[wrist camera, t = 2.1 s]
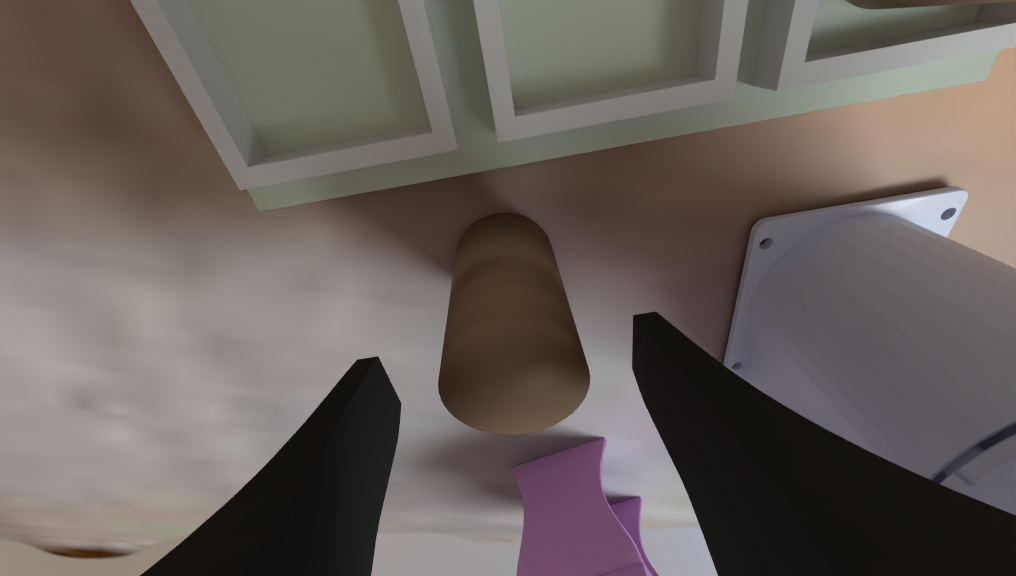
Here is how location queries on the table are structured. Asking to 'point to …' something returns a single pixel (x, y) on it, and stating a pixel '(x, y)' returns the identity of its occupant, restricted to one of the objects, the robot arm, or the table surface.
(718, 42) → the pin board
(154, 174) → the table surface
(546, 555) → the toy chair
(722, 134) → the table surface
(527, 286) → the walnut pin
